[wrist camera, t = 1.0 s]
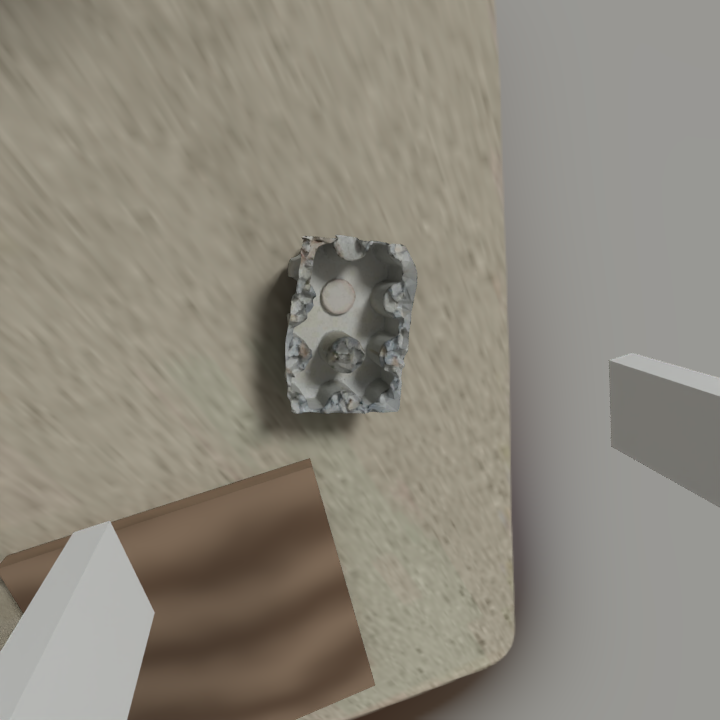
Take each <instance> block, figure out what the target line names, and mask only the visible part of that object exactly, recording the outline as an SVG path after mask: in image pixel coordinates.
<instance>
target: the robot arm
mask: <svg viewBox="0 0 720 720" xmlns="http://www.w3.org/2000/svg"><path fill="white" fill-rule="evenodd" d="M609 377H610V411H611V445H612V447H613V448H615V449H617V450H618V451H620V452H622V453H624V454H626V455H627V456H629V457H631V458H633V459H634V460H636V461H638V462H640V463H642V464H643V465H645V466H647V467H649V468H650V469H652V470H654V471H656V472H658V473H659V474H661V475H663V476H665V477H666V478H669V479H670V480H672V481H674V482H675V483H677V484H679V485H681V486H683V487H684V488H686V489H688V490H690V491H691V492H693V493H695V494H697V495H699V496H700V497H702V498H704V499H706V500H707V501H709V502H711V503H713V504H715V505H716V506H718V507H720V378H718V377H715V376H712V375H708V374H704V373H701V372H698V371H694V370H690V369H687V368H684V367H680V366H676V365H673V364H669V363H666V362H662V361H659V360H655V359H652V358H648V357H645V356H642V355H638V354H635V353H630V354H627V355H624V356H621V357H618V358H615V359H611V360H609ZM154 613H155V612H154V610H153V608H152V606H151V604H150V602H149V600H148V598H147V596H146V594H145V592H144V590H143V588H142V586H141V583H140V581H139V579H138V577H137V575H136V573H135V571H134V569H133V567H132V565H131V563H130V561H129V559H128V557H127V555H126V553H125V551H124V549H123V546H122V544H121V542H120V540H119V538H118V536H117V534H116V532H115V530H114V528H113V526H112V524H111V522H110V521H108V522H104V523H101V524H98V525H95V526H92V527H89V528H86V529H83V530H80V531H76V532H73V534H72V535H71V537H70V539H69V540H68V542H67V544H66V545H65V547H64V549H63V550H62V552H61V553H60V555H59V557H58V558H57V560H56V562H55V563H54V565H53V567H52V568H51V570H50V572H49V573H48V575H47V576H46V578H45V580H44V581H43V583H42V585H41V586H40V588H39V590H38V591H37V593H36V594H35V596H34V598H33V599H32V601H31V603H30V604H29V606H28V608H27V609H26V611H25V612H24V614H23V616H22V617H21V619H20V621H19V622H18V624H17V626H16V627H15V629H14V630H13V632H12V634H11V635H10V637H9V639H8V640H7V642H6V644H5V645H4V647H3V648H2V650H1V652H0V720H127V718H128V714H129V710H130V706H131V703H132V699H133V695H134V691H135V687H136V683H137V679H138V675H139V671H140V668H141V664H142V660H143V656H144V652H145V648H146V644H147V640H148V637H149V633H150V629H151V625H152V621H153V617H154Z"/></svg>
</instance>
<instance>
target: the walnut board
mask: <svg viewBox="0 0 720 720" xmlns="http://www.w3.org/2000/svg"><path fill="white" fill-rule="evenodd" d="M111 524H112V526H113V528H114V530H115V532H116V534H117V536H118V538H119V540H120V542H121V544H122V546H123V549H124V551H125V553H126V555H127V557H128V559H129V561H130V563H131V565H132V567H133V569H134V571H135V573H136V575H137V577H138V579H139V581H140V583H141V586H142V588H143V590H144V592H145V594H146V596H147V598H148V600H149V602H150V604H151V606H152V608H153V610H154V612H155V613H154V617H153V621H152V625H151V629H150V633H149V637H148V640H147V644H146V648H145V652H144V656H143V660H142V664H141V668H140V671H139V675H138V679H137V683H136V687H135V691H134V695H133V699H132V703H131V706H130V710H129V714H128V718H127V720H296V719H298V718H300V717H303V716H305V715H307V714H310V713H312V712H314V711H317V710H319V709H321V708H324V707H326V706H328V705H330V704H333V703H335V702H337V701H340V700H342V699H344V698H347V697H349V696H351V695H354V694H356V693H358V692H361V691H363V690H365V689H368V688H370V687H372V686H375V683H374V679H373V676H372V672H371V669H370V665H369V662H368V658H367V655H366V652H365V648H364V645H363V641H362V638H361V634H360V631H359V627H358V624H357V620H356V617H355V613H354V610H353V606H352V603H351V599H350V596H349V592H348V589H347V586H346V582H345V579H344V575H343V572H342V568H341V565H340V561H339V558H338V554H337V551H336V547H335V544H334V540H333V537H332V533H331V530H330V527H329V523H328V520H327V516H326V513H325V509H324V506H323V502H322V499H321V495H320V492H319V488H318V485H317V481H316V478H315V474H314V471H313V467H312V464H311V461H310V458H309V459H306V460H303V461H300V462H297V463H294V464H291V465H288V466H284V467H281V468H278V469H275V470H272V471H269V472H266V473H263V474H260V475H257V476H253V477H250V478H247V479H244V480H241V481H238V482H235V483H232V484H229V485H225V486H222V487H219V488H216V489H213V490H210V491H207V492H204V493H201V494H198V495H194V496H191V497H188V498H185V499H182V500H179V501H176V502H173V503H170V504H166V505H163V506H160V507H157V508H154V509H151V510H148V511H145V512H142V513H138V514H135V515H132V516H129V517H126V518H123V519H120V520H117V521H114V522H111ZM70 537H71V535H70V536H67V537H64V538H61V539H58V540H55V541H51V542H48V543H45V544H42V545H39V546H36V547H33V548H30V549H27V550H24V551H20V552H17V553H14V554H11V555H8V556H6V558H5V559H4V560H3V561H2V563H1V564H0V576H1V578H2V580H3V581H4V583H5V585H6V586H7V588H8V589H9V591H10V593H11V594H12V596H13V598H14V599H15V601H16V602H17V604H18V606H19V607H20V609H21V611H22V612H23V614H24V612H25V611H26V609H27V608H28V606H29V604H30V603H31V601H32V599H33V598H34V596H35V594H36V593H37V591H38V590H39V588H40V586H41V585H42V583H43V581H44V580H45V578H46V576H47V575H48V573H49V572H50V570H51V568H52V567H53V565H54V563H55V562H56V560H57V558H58V557H59V555H60V553H61V552H62V550H63V549H64V547H65V545H66V544H67V542H68V540H69V539H70Z"/></svg>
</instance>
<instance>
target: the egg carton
mask: <svg viewBox="0 0 720 720" xmlns="http://www.w3.org/2000/svg"><path fill="white" fill-rule="evenodd" d="M335 236H336V238H334V239H331V238H322V237H311V236H303V237H302V239H304V240H303V245H302V248H301V254H299V255H298V256H296V257H294V258H291V259H290V261H289V264H288V277H292V278H294V279H295V280H297V281H298V282H297V287H296V293H295V294H294V295H293V296H292V300H291V313H289V314H287V320H288V330H287V336H286V342H285V359H286V370H285V374H284V375H285V379H286V382H287V384H288V391H287V396H288V399H289V400H290V402H291V407H292V412H293V413H296V414H299V413H303V412H319V413H323V414H329V413H368V412H397V411H398V410H399V407H400V395H401V386H402V381H401V374H402V368H403V367H404V361H403V360H404V356H405V355H406V353H407V352H408V337H409V329H410V324H411V311H412V306H413V301H414V296H415V292H416V287H417V270H416V267H415V264H414V262H413V260H412V258H411V256H410V254H409V252H408V250H407V248H406V246H404V245H401V244H388V243H384V242H378V241H369V242H368V241H362V240H359V239H358V238H354V237H349V236H342V235H335Z"/></svg>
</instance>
